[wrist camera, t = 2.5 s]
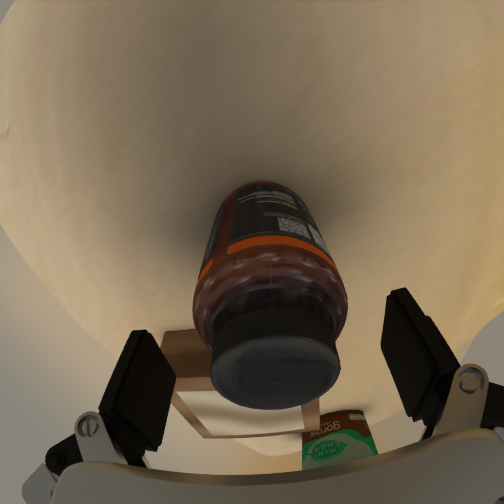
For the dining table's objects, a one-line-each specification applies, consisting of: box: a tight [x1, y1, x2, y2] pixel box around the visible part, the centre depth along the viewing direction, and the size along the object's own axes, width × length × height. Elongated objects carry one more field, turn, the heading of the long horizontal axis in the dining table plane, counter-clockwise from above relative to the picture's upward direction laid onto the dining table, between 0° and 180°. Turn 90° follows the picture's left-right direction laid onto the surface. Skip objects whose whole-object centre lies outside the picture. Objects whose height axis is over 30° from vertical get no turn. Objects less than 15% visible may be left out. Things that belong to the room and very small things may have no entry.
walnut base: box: [160, 329, 320, 438], centre depth 22 cm, size 12×12×5 cm
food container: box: [302, 410, 378, 470], centre depth 27 cm, size 12×6×10 cm, turn 138°
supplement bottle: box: [192, 182, 348, 410], centre depth 12 cm, size 6×6×11 cm
